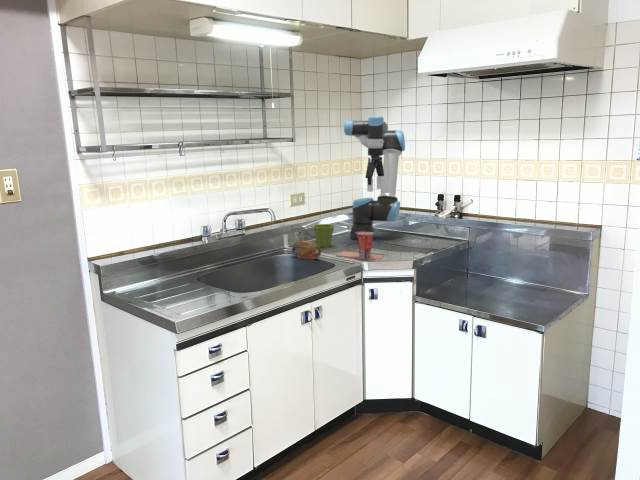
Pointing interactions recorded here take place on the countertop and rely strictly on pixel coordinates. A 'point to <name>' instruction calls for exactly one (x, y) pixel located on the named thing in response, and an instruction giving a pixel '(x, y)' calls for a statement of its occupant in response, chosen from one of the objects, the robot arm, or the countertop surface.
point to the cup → (365, 243)
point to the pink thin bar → (371, 253)
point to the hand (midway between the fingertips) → (374, 190)
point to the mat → (356, 255)
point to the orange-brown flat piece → (306, 250)
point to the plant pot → (323, 234)
